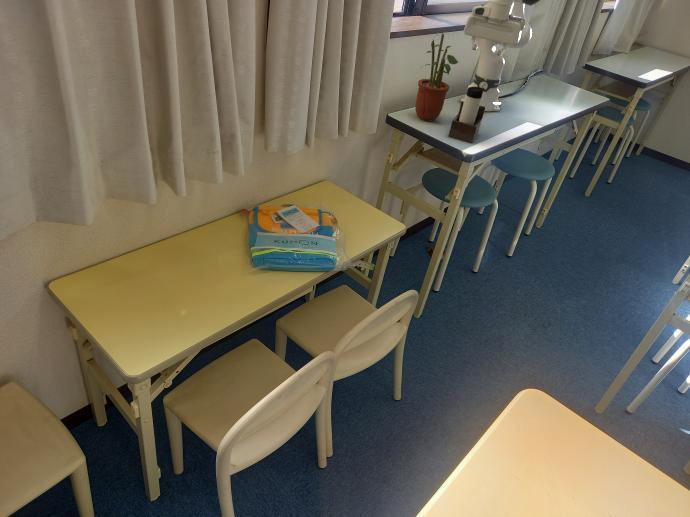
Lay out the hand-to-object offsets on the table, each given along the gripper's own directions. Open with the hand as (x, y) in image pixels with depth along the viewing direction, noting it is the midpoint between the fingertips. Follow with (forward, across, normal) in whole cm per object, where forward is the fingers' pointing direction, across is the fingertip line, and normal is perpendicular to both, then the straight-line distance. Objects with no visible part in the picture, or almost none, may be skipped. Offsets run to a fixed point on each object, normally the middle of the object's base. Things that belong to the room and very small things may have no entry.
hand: (486, 52), depth 182 cm
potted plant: (+33, +20, -10) cm, 40 cm away
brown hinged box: (+33, 0, 0) cm, 33 cm away
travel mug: (+33, 0, 0) cm, 33 cm away
